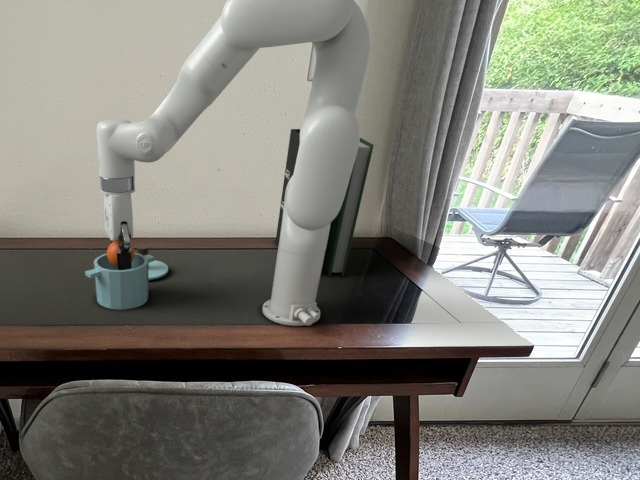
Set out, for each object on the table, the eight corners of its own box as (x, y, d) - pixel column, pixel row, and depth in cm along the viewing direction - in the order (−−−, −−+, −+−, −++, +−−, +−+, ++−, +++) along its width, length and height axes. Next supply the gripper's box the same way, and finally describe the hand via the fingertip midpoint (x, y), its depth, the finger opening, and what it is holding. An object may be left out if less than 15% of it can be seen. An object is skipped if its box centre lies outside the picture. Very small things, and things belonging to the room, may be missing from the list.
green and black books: (346, 276, 125) (377, 144, 107) (289, 275, 126) (310, 145, 108) (321, 241, 148) (343, 128, 130) (273, 241, 149) (288, 129, 131)
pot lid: (178, 274, 128) (179, 248, 124) (136, 286, 121) (135, 260, 118) (149, 259, 137) (149, 235, 133) (109, 270, 131) (107, 245, 127)
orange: (137, 270, 110) (136, 238, 106) (110, 273, 108) (108, 241, 104) (131, 260, 115) (130, 230, 111) (105, 263, 114) (103, 232, 110)
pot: (167, 297, 116) (167, 260, 111) (103, 317, 107) (101, 278, 102) (138, 280, 125) (137, 245, 120) (77, 298, 116) (74, 261, 111)
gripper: (93, 177, 108) (99, 252, 118) (108, 195, 94) (112, 279, 103) (125, 174, 109) (128, 249, 119) (144, 192, 95) (146, 275, 105)
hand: (121, 262), depth 111 cm, fingers closed on orange, 6 cm apart
